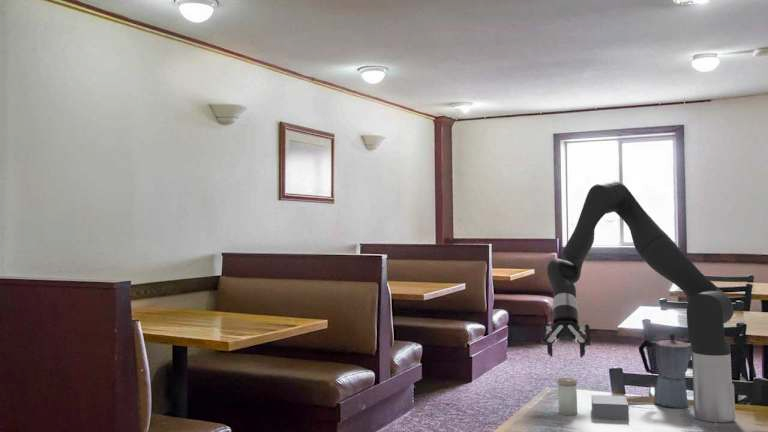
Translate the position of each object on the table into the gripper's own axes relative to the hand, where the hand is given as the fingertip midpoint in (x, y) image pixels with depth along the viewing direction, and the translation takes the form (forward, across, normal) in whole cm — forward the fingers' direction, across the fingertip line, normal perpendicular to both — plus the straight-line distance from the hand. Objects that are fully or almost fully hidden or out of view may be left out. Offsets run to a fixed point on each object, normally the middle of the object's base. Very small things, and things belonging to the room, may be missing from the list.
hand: (566, 355), depth 194 cm
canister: (+17, 0, +2) cm, 17 cm away
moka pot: (+8, +28, +12) cm, 31 cm away
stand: (+17, +11, +2) cm, 20 cm away
